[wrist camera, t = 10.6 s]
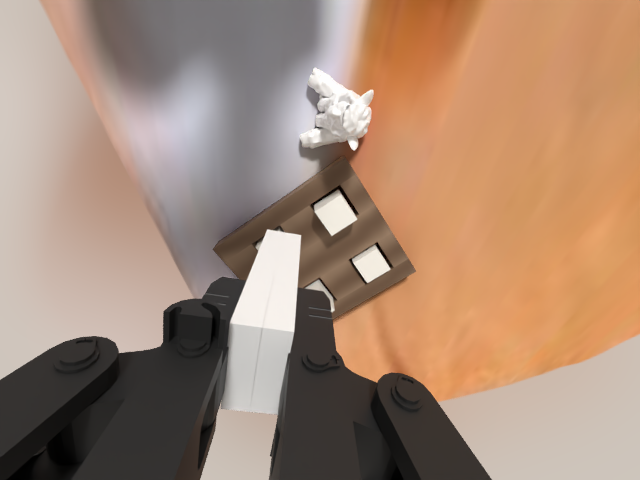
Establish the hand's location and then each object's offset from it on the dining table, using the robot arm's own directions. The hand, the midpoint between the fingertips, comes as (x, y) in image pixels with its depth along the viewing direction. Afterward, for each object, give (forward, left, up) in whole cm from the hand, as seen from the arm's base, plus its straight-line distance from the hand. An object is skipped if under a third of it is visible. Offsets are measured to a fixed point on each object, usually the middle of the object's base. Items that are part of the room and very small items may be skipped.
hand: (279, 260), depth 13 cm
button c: (+7, +1, -28) cm, 29 cm away
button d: (+17, +1, -30) cm, 35 cm away
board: (+12, -5, -30) cm, 33 cm away
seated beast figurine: (-3, +8, -31) cm, 32 cm away
